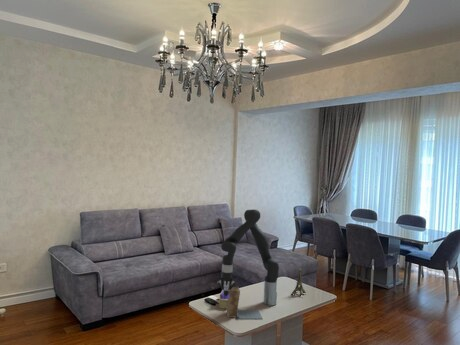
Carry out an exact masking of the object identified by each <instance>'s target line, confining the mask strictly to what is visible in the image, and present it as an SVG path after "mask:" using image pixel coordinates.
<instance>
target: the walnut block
mask: <svg viewBox="0 0 460 345" xmlns="http://www.w3.org/2000/svg"><path fill="white" fill-rule="evenodd" d="M240 293H241V290H240V288H239V286H233V287H232V289H231V290H230V291H229V298H228V305H227V308H226V314H227V317H230V318H237V310H239V309H238V308H239V303H240V302H239V301H240V295H241V294H240Z"/></svg>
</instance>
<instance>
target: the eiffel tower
mask: <svg viewBox="0 0 460 345" xmlns="http://www.w3.org/2000/svg"><path fill="white" fill-rule="evenodd" d="M302 271H303V269H302V268H299V269H298V276H297V280H296V285H295V287H294V289H293V290H292V293H291V294H295V293H296V291H298V292H299V296H300V295H303V296H304V294H303V293H307V292H306V291H305V289H304V287H303V281H302Z"/></svg>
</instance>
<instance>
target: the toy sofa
mask: <svg viewBox="0 0 460 345" xmlns="http://www.w3.org/2000/svg"><path fill="white" fill-rule="evenodd" d="M229 291H230V290H228V295H227V296H225V295H224V290H222V289H221V292H220V293H219V300H218V301H219V304H218V305H219V306H218V307H219V309H220V308H221V309H227V305H228V298H229Z"/></svg>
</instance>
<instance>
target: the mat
mask: <svg viewBox="0 0 460 345" xmlns="http://www.w3.org/2000/svg"><path fill="white" fill-rule="evenodd" d="M236 319H237V320H263V317H262V314H261V312H260V310H259V309H238V310H237V316H236Z"/></svg>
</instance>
